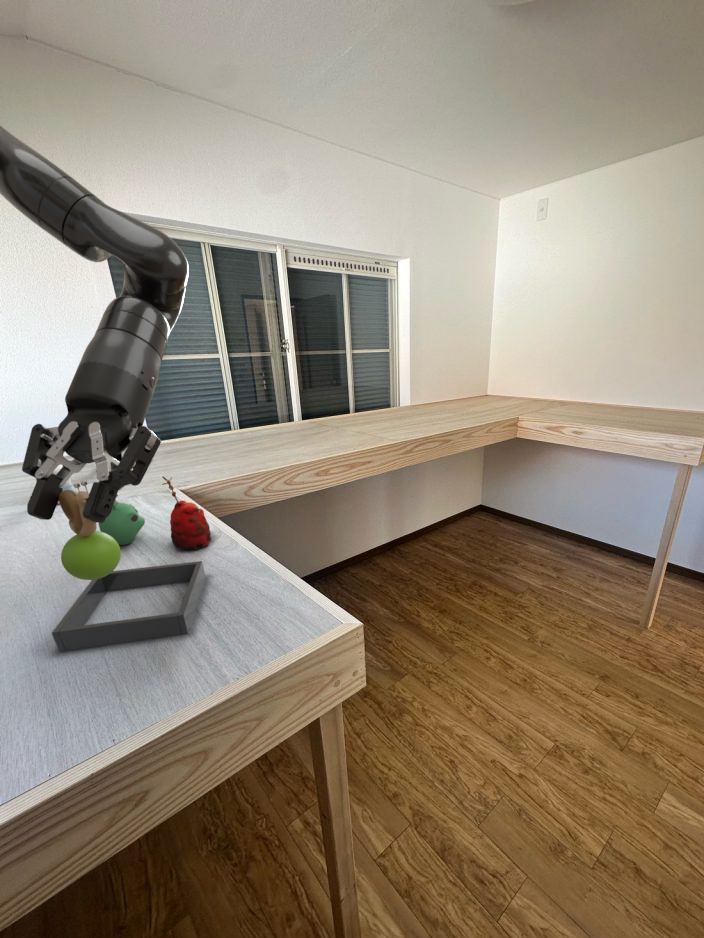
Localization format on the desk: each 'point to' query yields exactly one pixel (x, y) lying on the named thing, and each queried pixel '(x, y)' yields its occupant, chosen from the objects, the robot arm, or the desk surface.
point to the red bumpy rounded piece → (188, 525)
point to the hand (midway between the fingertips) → (65, 518)
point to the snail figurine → (86, 540)
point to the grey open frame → (82, 636)
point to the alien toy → (122, 523)
